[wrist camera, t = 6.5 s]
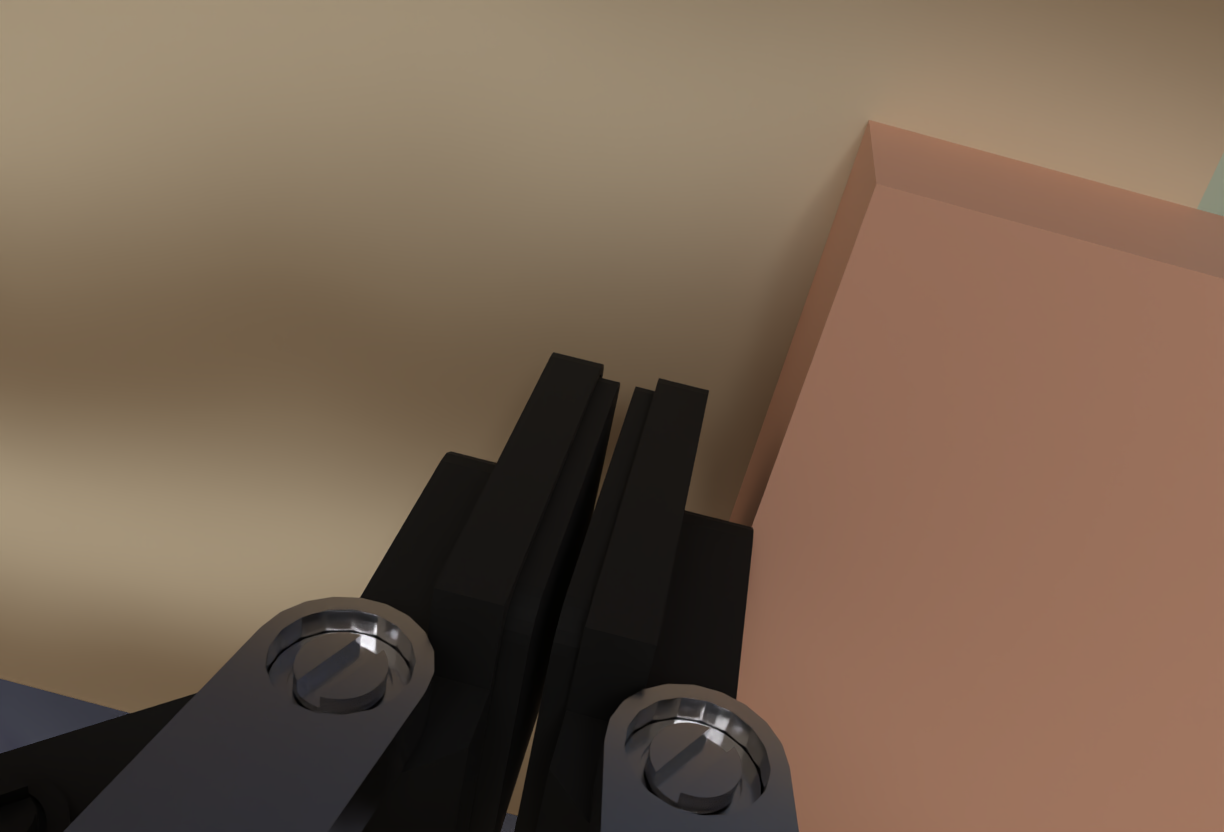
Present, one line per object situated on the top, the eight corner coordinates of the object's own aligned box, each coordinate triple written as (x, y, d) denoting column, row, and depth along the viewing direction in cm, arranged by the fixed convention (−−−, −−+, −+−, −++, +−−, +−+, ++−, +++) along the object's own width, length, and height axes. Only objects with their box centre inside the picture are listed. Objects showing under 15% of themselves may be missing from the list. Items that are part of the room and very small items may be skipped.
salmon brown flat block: (868, 119, 10) (876, 183, 9) (1492, 288, 10) (1623, 389, 8) (648, 752, 15) (625, 875, 13) (1072, 878, 15) (1104, 1019, 13)
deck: (-121, -445, 13) (-457, -529, 10) (1221, -180, 12) (1376, -171, 9) (11, 495, 20) (-155, 637, 17) (860, 710, 19) (867, 908, 16)
